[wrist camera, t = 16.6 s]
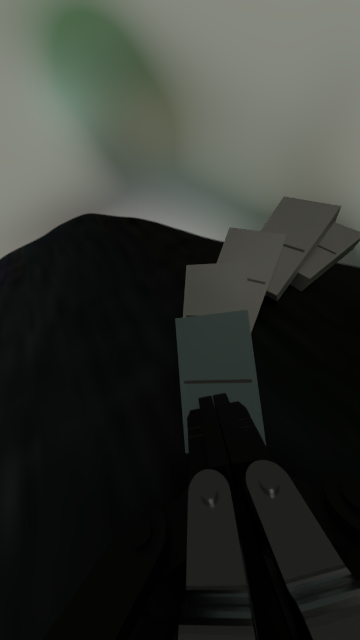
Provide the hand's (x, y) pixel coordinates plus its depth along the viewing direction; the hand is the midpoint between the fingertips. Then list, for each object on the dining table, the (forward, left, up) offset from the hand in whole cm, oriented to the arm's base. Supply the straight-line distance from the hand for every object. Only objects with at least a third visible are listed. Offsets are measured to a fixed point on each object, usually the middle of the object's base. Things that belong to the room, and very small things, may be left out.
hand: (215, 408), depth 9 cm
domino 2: (+2, +3, -4) cm, 5 cm away
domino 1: (+5, +6, -4) cm, 9 cm away
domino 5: (+14, +7, -4) cm, 17 cm away
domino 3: (-1, -2, -4) cm, 5 cm away
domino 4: (+11, +7, -4) cm, 14 cm away
